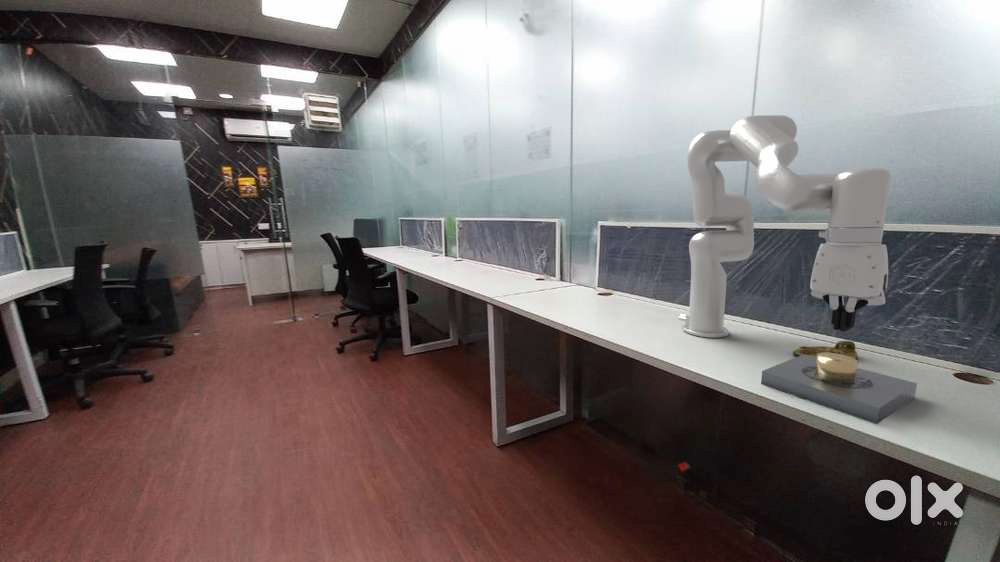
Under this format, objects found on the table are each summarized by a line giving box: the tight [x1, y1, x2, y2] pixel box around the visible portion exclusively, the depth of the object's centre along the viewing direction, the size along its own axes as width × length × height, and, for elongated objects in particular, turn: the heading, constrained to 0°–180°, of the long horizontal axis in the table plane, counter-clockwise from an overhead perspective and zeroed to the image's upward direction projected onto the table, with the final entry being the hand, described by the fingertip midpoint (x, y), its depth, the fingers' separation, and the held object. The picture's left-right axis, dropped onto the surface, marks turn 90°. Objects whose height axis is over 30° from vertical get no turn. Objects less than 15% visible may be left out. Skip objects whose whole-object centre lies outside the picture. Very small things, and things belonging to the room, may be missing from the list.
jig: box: [760, 354, 918, 425], centre depth 73 cm, size 18×18×3 cm
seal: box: [792, 340, 859, 361], centre depth 90 cm, size 9×5×15 cm
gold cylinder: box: [815, 352, 858, 383], centre depth 72 cm, size 6×6×7 cm
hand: (841, 329), depth 71 cm, fingers closed
